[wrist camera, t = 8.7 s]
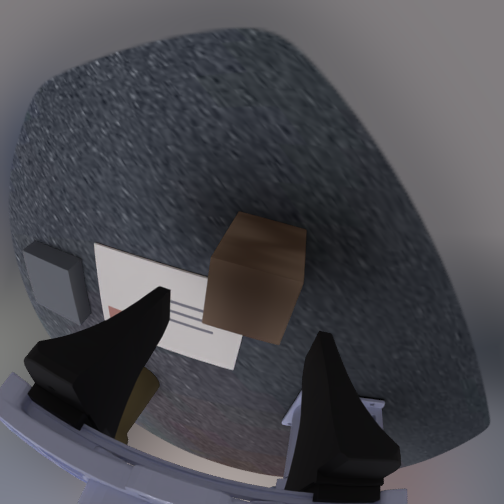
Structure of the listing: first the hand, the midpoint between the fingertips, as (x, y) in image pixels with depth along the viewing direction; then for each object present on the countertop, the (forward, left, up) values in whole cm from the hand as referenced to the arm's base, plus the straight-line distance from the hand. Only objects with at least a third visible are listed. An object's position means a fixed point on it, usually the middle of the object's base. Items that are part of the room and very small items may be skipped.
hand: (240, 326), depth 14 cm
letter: (+7, +9, -8) cm, 13 cm away
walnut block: (0, 0, -8) cm, 8 cm away
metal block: (+19, +9, -8) cm, 23 cm away
